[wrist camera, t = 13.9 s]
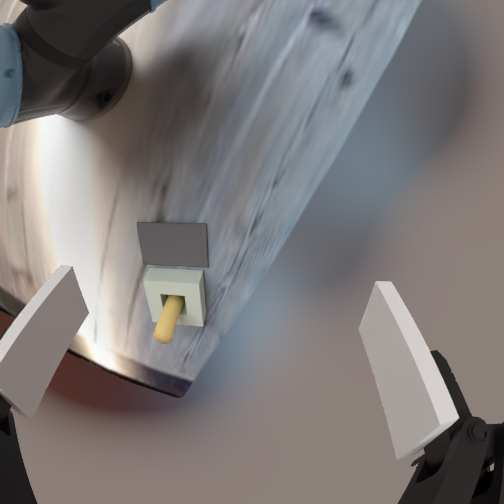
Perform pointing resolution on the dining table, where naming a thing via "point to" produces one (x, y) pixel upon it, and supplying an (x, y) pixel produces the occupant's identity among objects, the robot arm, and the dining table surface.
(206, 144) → the dining table surface
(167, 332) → the peg
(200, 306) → the hole block
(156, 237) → the mat
